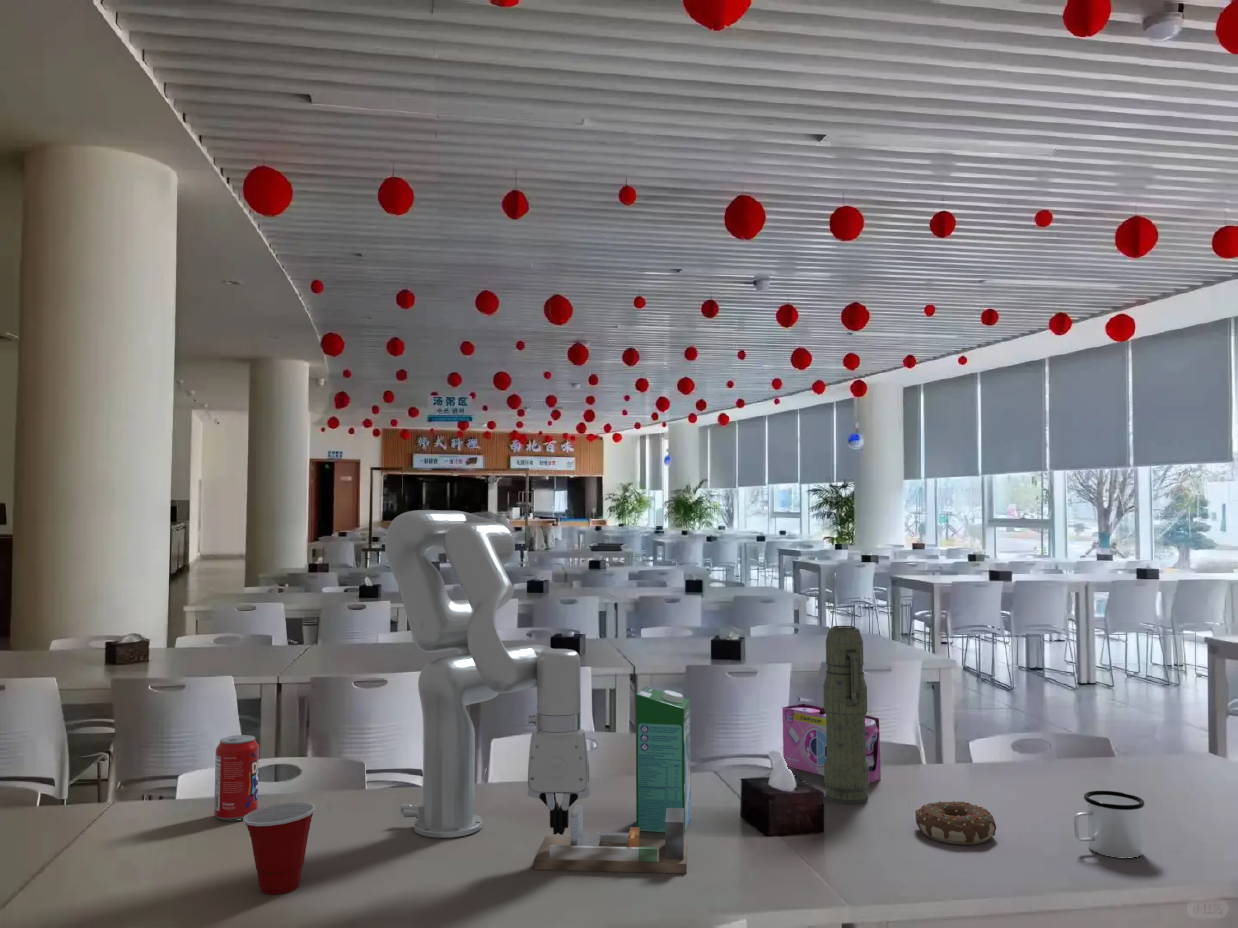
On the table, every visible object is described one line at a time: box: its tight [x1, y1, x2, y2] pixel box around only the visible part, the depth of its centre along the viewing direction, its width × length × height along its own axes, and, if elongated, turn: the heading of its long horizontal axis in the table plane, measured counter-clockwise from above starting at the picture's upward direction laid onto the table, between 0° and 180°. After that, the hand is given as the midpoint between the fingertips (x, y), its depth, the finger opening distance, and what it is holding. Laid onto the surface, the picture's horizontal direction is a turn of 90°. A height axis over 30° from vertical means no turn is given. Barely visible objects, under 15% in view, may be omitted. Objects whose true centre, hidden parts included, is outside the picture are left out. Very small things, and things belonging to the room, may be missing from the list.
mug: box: [1073, 790, 1146, 858], centre depth 168 cm, size 12×10×9 cm
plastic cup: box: [242, 801, 316, 895], centre depth 152 cm, size 11×11×12 cm
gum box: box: [782, 703, 882, 784], centre depth 221 cm, size 24×8×14 cm, turn 37°
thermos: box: [822, 625, 870, 805], centre depth 202 cm, size 9×12×35 cm
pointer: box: [628, 826, 641, 847], centre depth 163 cm, size 2×7×3 cm, turn 175°
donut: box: [914, 800, 997, 846], centre depth 177 cm, size 14×14×5 cm
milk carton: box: [635, 686, 692, 834], centre depth 183 cm, size 9×9×25 cm
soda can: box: [213, 734, 260, 821], centre depth 189 cm, size 8×8×15 cm
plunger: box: [570, 804, 629, 846], centre depth 165 cm, size 10×7×6 cm
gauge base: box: [533, 808, 688, 874], centre depth 165 cm, size 25×12×8 cm, turn 85°
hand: (559, 831), depth 165 cm, fingers closed
